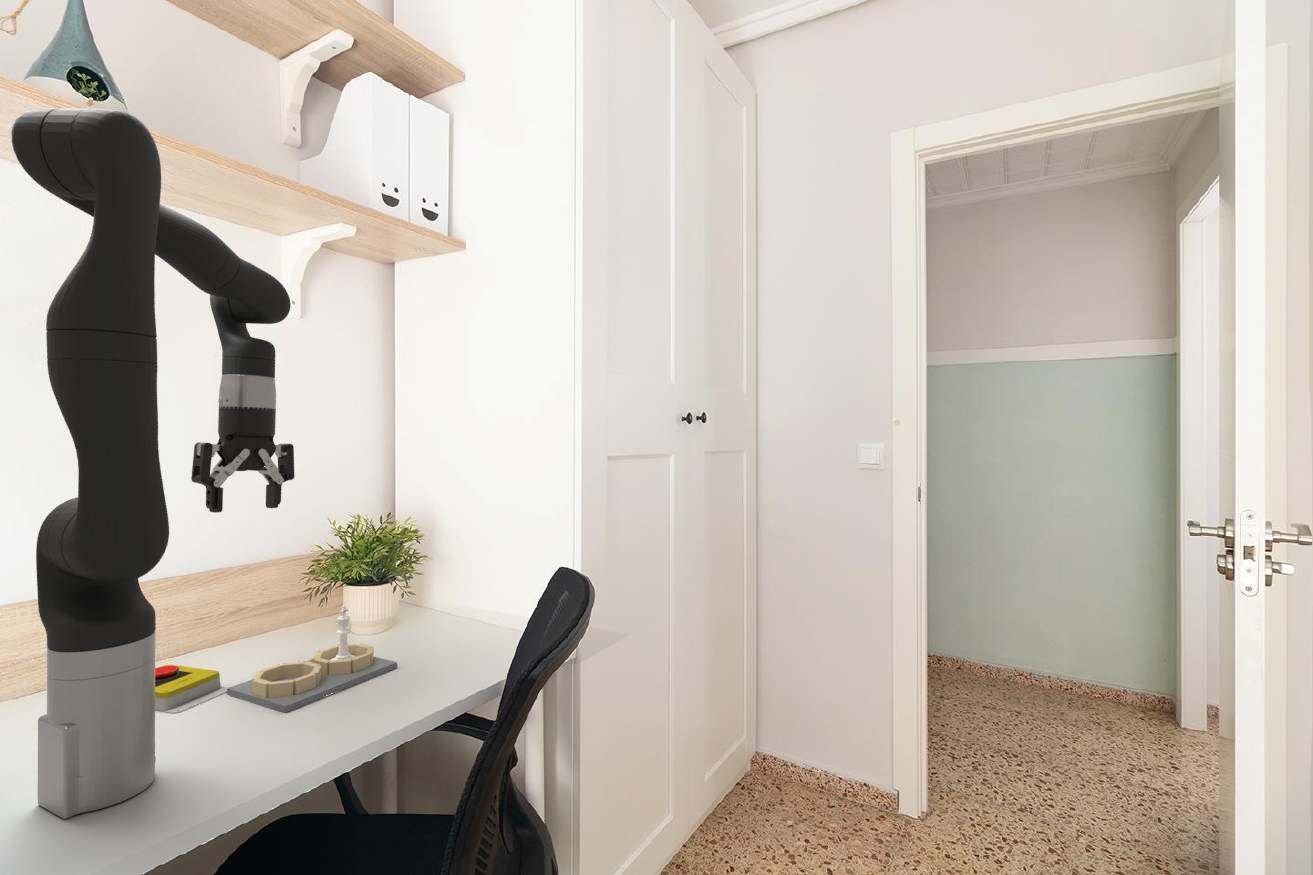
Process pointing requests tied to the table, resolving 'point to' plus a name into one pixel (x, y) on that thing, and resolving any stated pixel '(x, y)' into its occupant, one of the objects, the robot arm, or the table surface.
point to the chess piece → (343, 636)
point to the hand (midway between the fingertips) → (245, 509)
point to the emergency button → (185, 687)
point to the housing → (310, 678)
